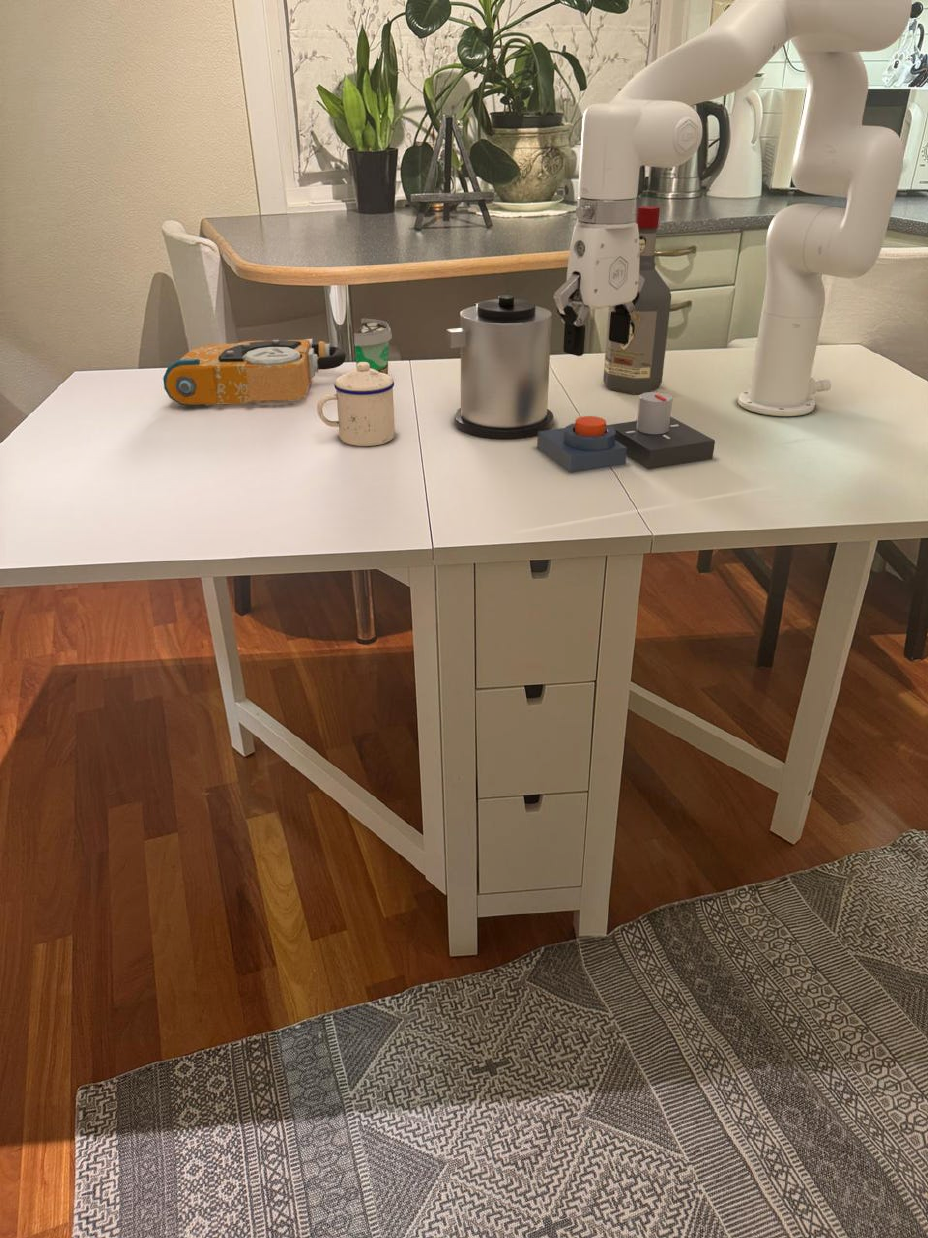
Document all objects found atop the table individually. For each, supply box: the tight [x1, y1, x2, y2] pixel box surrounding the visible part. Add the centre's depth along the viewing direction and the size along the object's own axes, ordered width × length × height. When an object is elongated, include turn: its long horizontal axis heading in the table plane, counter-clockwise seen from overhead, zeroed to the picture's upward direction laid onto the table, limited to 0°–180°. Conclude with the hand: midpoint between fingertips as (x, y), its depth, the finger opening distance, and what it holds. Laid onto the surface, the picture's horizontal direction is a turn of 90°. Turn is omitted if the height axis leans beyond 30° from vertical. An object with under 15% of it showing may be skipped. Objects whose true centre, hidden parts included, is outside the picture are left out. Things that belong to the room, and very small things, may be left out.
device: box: [162, 338, 347, 408], centre depth 162 cm, size 23×8×30 cm
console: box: [608, 415, 716, 470], centre depth 137 cm, size 11×12×3 cm
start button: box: [574, 415, 607, 436], centre depth 132 cm, size 4×4×2 cm
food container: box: [353, 318, 393, 375], centre depth 167 cm, size 12×6×10 cm, turn 179°
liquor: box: [603, 205, 672, 395], centre depth 158 cm, size 9×9×30 cm
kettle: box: [446, 294, 554, 441], centre depth 145 cm, size 17×20×20 cm
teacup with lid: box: [316, 362, 396, 447], centre depth 140 cm, size 12×9×12 cm
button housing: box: [536, 422, 627, 474], centre depth 135 cm, size 9×11×4 cm
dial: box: [636, 391, 673, 435], centre depth 136 cm, size 5×5×5 cm
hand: (596, 347), depth 126 cm, fingers open, 9 cm apart
